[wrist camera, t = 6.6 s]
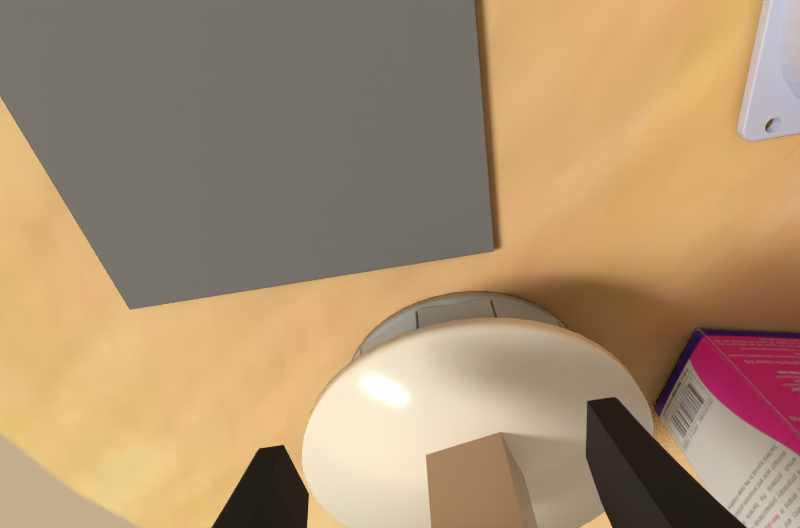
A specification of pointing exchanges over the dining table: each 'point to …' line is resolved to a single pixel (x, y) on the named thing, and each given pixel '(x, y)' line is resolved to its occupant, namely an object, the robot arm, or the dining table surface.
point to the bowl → (456, 314)
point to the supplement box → (740, 421)
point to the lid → (465, 428)
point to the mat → (254, 135)
